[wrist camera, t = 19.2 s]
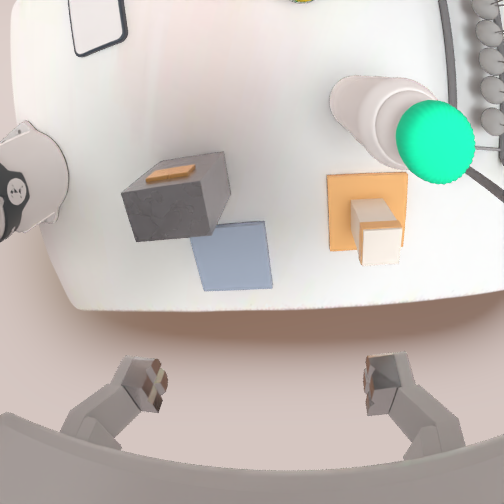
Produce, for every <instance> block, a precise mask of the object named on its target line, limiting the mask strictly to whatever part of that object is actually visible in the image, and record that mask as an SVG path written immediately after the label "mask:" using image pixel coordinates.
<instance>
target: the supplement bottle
mask: <svg viewBox="0 0 504 504" xmlns="http://www.w3.org/2000/svg"><path fill="white" fill-rule="evenodd" d="M290 1H292V2H295V3H308V2H311V1H313V0H290Z"/></svg>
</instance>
